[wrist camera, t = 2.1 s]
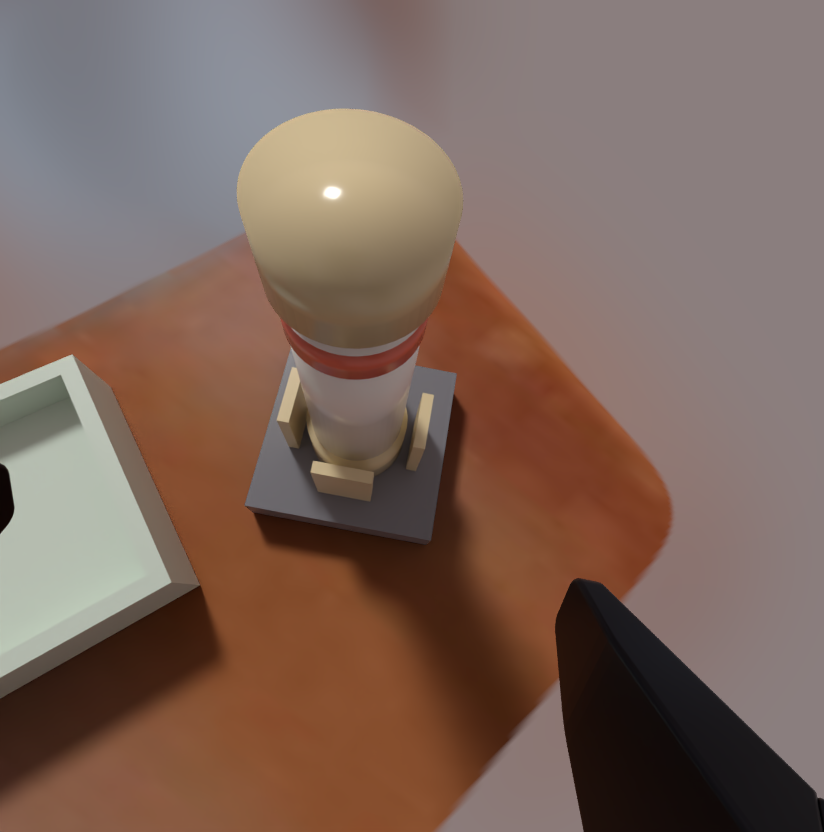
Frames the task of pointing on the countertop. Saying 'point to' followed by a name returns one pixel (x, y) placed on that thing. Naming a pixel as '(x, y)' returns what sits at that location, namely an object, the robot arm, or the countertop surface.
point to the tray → (76, 523)
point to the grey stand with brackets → (348, 487)
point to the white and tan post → (352, 266)
